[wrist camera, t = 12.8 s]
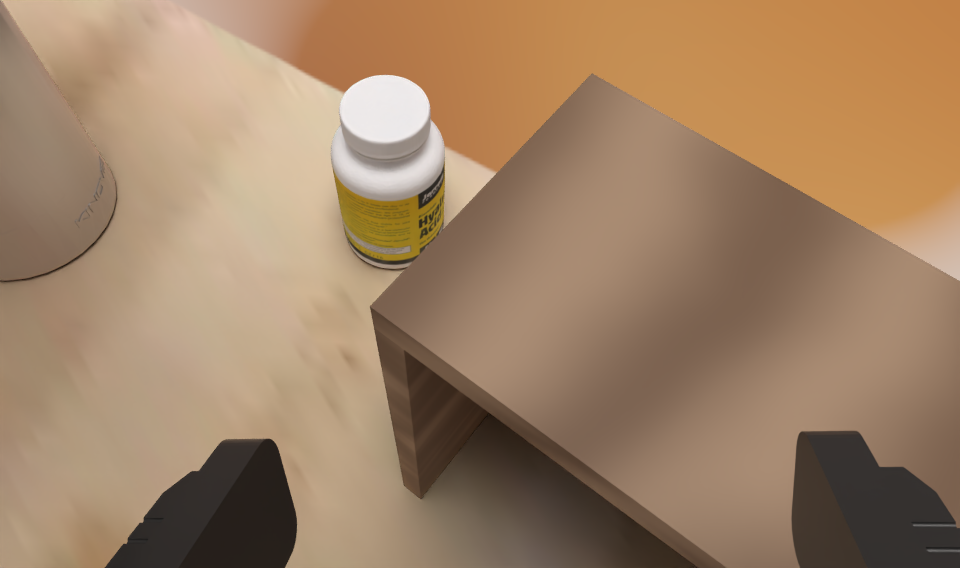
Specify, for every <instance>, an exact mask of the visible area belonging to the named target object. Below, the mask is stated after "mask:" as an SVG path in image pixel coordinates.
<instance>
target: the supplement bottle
mask: <svg viewBox="0 0 960 568" xmlns="http://www.w3.org/2000/svg"><path fill="white" fill-rule="evenodd" d="M339 115H340V122H341V125H340V126H339V128H338V129H337V131H336V133H335V135H334V137H333V141H332V145H331V161H332V167H333V173H334V178H335V183H336V188H337V193H338V199H339V204H340V209H341V214H342V220H343V225H344V230H345V234H346V237H347V240H348V243H349V245H350V247H351V248H352V249H353V251H354V252H355V253H356V254H357V255H358V256H359V257H360V258H361V259H363V260H364V261H366V262H368V263H370V264H372V265H374V266H377V267H381V268H388V269H397V268H405V267H408V266H409V265H410V264H411V263H412V262H413V261H414V260H415V259H416V258H417V257H418V256H419V255H420V253H421V252H422V251H423V250H424V249H425V248H426V247H427V246H428V245H429V244H430V243H431V242H432V241H433V240H434V239H435V238H436V237H437V236H438V235H439V234H440V232H441V231H442V230H443V224H444V192H445V191H444V188H445V149H444V142H443V139H442V136H441V134H440V132H439V130H438V128H437V127H436V125H435V124H434V123H433V122H432V121H431V119H430V104H429V101H428V98H427V96H426V95H425V93H424V92H423V90H422V89H421V88H420V87H419V86H417V85H416V84H415V83H413V82H411V81H410V80H407V79H405V78H401V77H398V76H392V75H378V76H372V77H368V78H366V79H363V80H361V81H359V82H357V83H355V84H354V85H352V86H351V87H350V88H349V89H348V90H347V91H346V93H345V94H344V96H343V97H342V100H341V102H340V107H339Z"/></svg>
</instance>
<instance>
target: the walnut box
mask: <svg viewBox="0 0 960 568" xmlns="http://www.w3.org/2000/svg"><path fill="white" fill-rule="evenodd" d="M370 309H371V314H372V319H373V325H374V330H375V335H376V341H377V346H378V351H379V356H380V362H381V367H382V372H383V377H384V383H385V388H386V393H387V398H388V404H389V409H390V414H391V419H392V425H393V430H394V435H395V440H396V446H397V451H398V456H399V462H400V467H401V472H402V477H403V483H404V486H405V487H407V488H408V489H409V490H410V491H412V492H413V493H414V494H415V495H417V496H418V497H419V498H420V499H421V498H422V497H423V496H424V494H425V493H426V492H427V490H428V489H429V488H430V487H431V485H432V484H433V483H434V482H435V480H436V479H437V478H438V477H439V475H440V474H441V473H442V472H443V470H444V469H445V468H446V466H447V465H448V464H449V463H450V461H451V460H452V459H453V458H454V456H455V455H456V454H457V453H458V451H459V450H460V449H461V447H462V446H463V445H464V444H465V442H466V441H467V440H468V439H469V437H470V436H471V435H472V434H473V432H474V431H475V430H476V428H477V427H478V426H479V425H480V423H481V422H482V421H483V420H484V418H485V417H486V416H487V415H488V413H490V414H491V415H493V416H494V417H495V418H497V419H498V420H499V421H501V422H502V423H503V424H505V425H506V426H508V427H509V428H510V429H512V430H513V431H514V432H516V433H517V434H518V435H520V436H521V437H522V438H524V439H525V440H526V441H528V442H529V443H530V444H532V445H533V446H535V447H536V448H537V449H539V450H540V451H541V452H543V453H544V454H545V455H547V456H548V457H549V458H551V459H552V460H553V461H555V462H556V463H557V464H559V465H560V466H562V467H563V468H564V469H566V470H567V471H568V472H570V473H571V474H572V475H574V476H575V477H576V478H578V479H579V480H580V481H582V482H583V483H584V484H586V485H587V486H588V487H590V488H591V489H593V490H594V491H595V492H597V493H598V494H599V495H601V496H602V497H603V498H605V499H606V500H607V501H609V502H610V503H611V504H613V505H614V506H615V507H617V508H618V509H620V510H621V511H622V512H624V513H625V514H626V515H628V516H629V517H630V518H632V519H633V520H634V521H636V522H637V523H638V524H640V525H641V526H642V527H644V528H645V529H647V530H648V531H649V532H651V533H652V534H653V535H655V536H656V537H657V538H659V539H660V540H661V541H663V542H664V543H665V544H667V545H668V546H669V547H671V548H672V549H674V550H675V551H676V552H678V553H679V554H680V555H682V556H683V557H684V558H686V559H687V560H688V561H690V562H691V563H692V564H694V565H695V566H696V567H698V568H800V566H799V563H798V560H797V557H796V553H795V548H794V542H793V535H792V521H791V516H792V501H793V487H794V473H795V459H796V445H797V439H798V435H799V433H800V432H801V431H858V432H859V433H860V434H861V435H862V437H863V438H864V440H865V442H866V444H867V446H868V447H869V449H870V451H871V453H872V454H873V456H874V458H875V460H876V461H877V463H878V465H879V467H904V468H906V469H907V470H908V471H910V472H911V473H912V474H914V475H915V476H916V477H917V478H919V479H920V480H921V481H923V482H924V483H925V484H927V485H928V486H929V487H931V488H932V489H933V490H934V491H936V492H937V494H938V495H939V497H940V498H941V500H942V501H943V503H944V505H945V506H946V508H947V509H948V511H949V512H950V514H951V515H952V517H953V518H954V520H955V521H956V527H957V528H960V281H958V280H957V279H955V278H953V277H951V276H950V275H948V274H946V273H944V272H943V271H941V270H939V269H937V268H935V267H934V266H932V265H930V264H928V263H927V262H925V261H923V260H921V259H920V258H918V257H916V256H914V255H912V254H911V253H909V252H907V251H905V250H904V249H902V248H900V247H898V246H897V245H895V244H893V243H891V242H889V241H888V240H886V239H884V238H882V237H881V236H879V235H877V234H875V233H874V232H872V231H870V230H868V229H866V228H865V227H863V226H861V225H859V224H858V223H856V222H854V221H852V220H851V219H849V218H847V217H845V216H843V215H842V214H840V213H838V212H836V211H835V210H833V209H831V208H829V207H827V206H826V205H824V204H822V203H820V202H819V201H817V200H815V199H813V198H812V197H810V196H808V195H806V194H804V193H803V192H801V191H799V190H797V189H796V188H794V187H792V186H790V185H788V184H787V183H785V182H783V181H781V180H780V179H778V178H776V177H774V176H773V175H771V174H769V173H767V172H765V171H764V170H762V169H760V168H758V167H757V166H755V165H753V164H751V163H750V162H748V161H746V160H744V159H742V158H741V157H739V156H737V155H735V154H734V153H732V152H730V151H728V150H727V149H725V148H723V147H721V146H720V145H718V144H716V143H714V142H712V141H710V140H709V139H707V138H705V137H703V136H702V135H700V134H698V133H696V132H695V131H693V130H691V129H689V128H688V127H686V126H684V125H682V124H681V123H679V122H677V121H675V120H673V119H672V118H670V117H668V116H666V115H665V114H663V113H661V112H659V111H657V110H656V109H654V108H652V107H650V106H648V105H647V104H645V103H643V102H642V101H640V100H638V99H636V98H634V97H632V96H631V95H629V94H627V93H626V92H624V91H622V90H620V89H618V88H617V87H615V86H613V85H611V84H610V83H608V82H606V81H604V80H603V79H601V78H599V77H597V76H596V75H594V74H591V75H590V76H589V77H588V78H587V79H586V80H585V81H584V82H583V83H582V84H581V86H580V87H579V88H578V89H577V90H576V91H575V92H574V93H573V94H572V95H571V96H570V97H569V98H568V99H567V100H566V101H565V102H564V103H563V104H562V105H561V106H560V108H559V109H558V110H557V111H556V112H555V113H554V114H553V115H552V116H551V117H550V118H549V119H548V120H547V121H546V122H545V123H544V125H542V127H541V128H540V129H539V130H538V131H537V132H536V133H535V134H534V135H533V136H532V137H531V138H530V139H529V140H528V141H527V142H526V143H525V144H524V145H523V146H522V147H521V148H520V150H519V151H518V152H517V153H516V154H515V155H514V156H513V157H512V158H511V159H510V160H509V161H508V162H507V163H506V164H505V165H504V166H503V167H502V168H501V170H500V171H499V172H498V173H497V174H496V175H495V176H494V177H493V178H492V179H491V180H490V181H489V182H488V183H487V184H486V185H485V186H484V187H483V188H482V189H481V190H480V192H479V193H478V194H477V195H476V196H475V197H474V198H473V199H472V200H471V201H470V202H469V203H468V204H467V205H466V206H465V207H464V208H463V209H462V210H461V211H460V213H459V214H458V215H457V216H456V217H455V218H454V219H453V220H452V221H451V222H450V223H449V224H448V225H447V226H446V227H445V228H444V229H443V230H442V231H441V232H440V234H439V235H438V236H437V237H436V238H435V239H434V240H433V241H432V242H431V243H430V244H429V245H428V246H427V247H426V248H425V249H424V250H423V251H422V252H421V253H420V255H419V256H418V257H417V258H416V259H415V260H414V261H413V262H412V263H411V264H410V265H409V266H408V267H407V268H406V269H405V270H404V271H403V272H402V273H401V274H400V276H399V277H398V278H397V279H396V280H395V281H394V282H393V283H392V284H391V285H390V286H389V287H388V288H387V289H386V290H385V291H384V292H383V293H382V294H381V295H380V297H379V298H378V299H377V300H376V301H375V302H374V303H373V304H372V305H371V306H370Z"/></svg>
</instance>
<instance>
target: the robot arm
mask: <svg viewBox="0 0 960 568" xmlns="http://www.w3.org/2000/svg"><path fill="white" fill-rule="evenodd" d="M115 201H116V183H115V181H114V178H113V175H112V173H111V170H110V169H109V167H108V166H107V164H106V162H105V161H104V159H103V158H102V156H101V155H100V153H99V152H98V150H97V149H96V147H95V145H94V144H93V142H92V141H91V139H90V138H89V136H88V135H87V133H86V131H85V130H84V128H83V127H82V125H81V123H80V122H79V120H78V118H77V117H76V115H75V114H74V112H73V111H72V109H71V107H70V106H69V104H68V103H67V101H66V100H65V98H64V97H63V95H62V93H61V92H60V90H59V89H58V87H57V86H56V84H55V83H54V81H53V79H52V78H51V76H50V75H49V73H48V72H47V70H46V69H45V67H44V65H43V64H42V62H41V61H40V59H39V58H38V56H37V55H36V53H35V52H34V50H33V48H32V47H31V45H30V44H29V42H28V41H27V39H26V38H25V36H24V34H23V33H22V31H21V30H20V28H19V27H18V25H17V24H16V22H15V20H14V19H13V17H12V16H11V14H10V13H9V11H8V10H7V8H6V6H5V5H4V3H3V2H2V0H0V280H5V281H8V280H17V279H26V278H30V277H34V276H37V275H41V274H44V273H47V272H50V271H52V270H54V269H56V268H58V267H61V266H63V265H65V264H67V263H68V262H70V261H71V260H73V259H74V258H76V257H77V256H79V255H80V254H82V253H83V252H84V251H85V250H86V249H87V248H88V247H89V246H90V245H91V244H93V243H94V242H95V241H96V240H97V238H98V237H99V236H100V234H101V233H102V232H103V230H104V229H105V228H106V226H107V224H108V222H109V220H110V218H111V216H112V214H113V211H114V206H115ZM791 521H792V535H793V542H794V548H795V553H796V557H797V560H798V563H799V566H800V568H960V528H957V527H956V521H955V520H954V518H953V517H952V515H951V514H950V512H949V511H948V509H947V508H946V506H945V505H944V503H943V501H942V500H941V498H940V497H939V495H938V494H937V492H936V491H934V490H933V489H932V488H931V487H929V486H928V485H927V484H925V483H924V482H923V481H921V480H920V479H919V478H917V477H916V476H915V475H914V474H912V473H911V472H910V471H908V470H907V469H906V468H904V467H879V465H878V463H877V461H876V460H875V458H874V456H873V454H872V453H871V451H870V449H869V447H868V446H867V444H866V442H865V440H864V438H863V437H862V435H861V434H860V433H859V432H858V431H801V432H800V433H799V435H798V439H797V445H796V459H795V473H794V487H793V501H792V516H791ZM296 533H297V518H296V512H295V508H294V505H293V501H292V497H291V494H290V490H289V486H288V483H287V479H286V475H285V472H284V468H283V464H282V461H281V457H280V453H279V450H278V447H277V445H276V444H275V442H274V441H273V440H271V439H228V440H224V441H222V442H221V443H220V444H219V445H218V446H217V447H216V449H215V450H214V452H213V453H212V454H211V456H210V457H209V458H208V460H207V461H206V462H205V464H204V465H203V466H202V468H201V469H200V470H199V471H191V472H190V473H189V474H187V475H186V476H185V477H184V478H182V479H181V480H180V481H178V482H177V483H176V484H174V485H173V486H172V487H170V488H169V489H168V490H166V491H165V492H164V493H163V494H162V495H161V496H160V498H159V499H158V500H157V501H156V503H155V504H154V505H153V507H152V508H151V509H150V510H149V512H148V513H147V514H146V516H145V517H144V522H143V523H139V525H138V526H137V527H136V528H135V530H134V531H133V532H132V533H131V535H130V536H129V537H128V542H127V544H123V545H122V546H121V548H120V549H119V550H118V551H117V553H116V554H115V555H114V557H113V558H112V559H111V560H110V562H109V563H108V564H107V566H106V567H105V568H285V567H286V564H287V562H288V560H289V558H290V556H291V554H292V552H293V549H294V545H295V541H296Z"/></svg>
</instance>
